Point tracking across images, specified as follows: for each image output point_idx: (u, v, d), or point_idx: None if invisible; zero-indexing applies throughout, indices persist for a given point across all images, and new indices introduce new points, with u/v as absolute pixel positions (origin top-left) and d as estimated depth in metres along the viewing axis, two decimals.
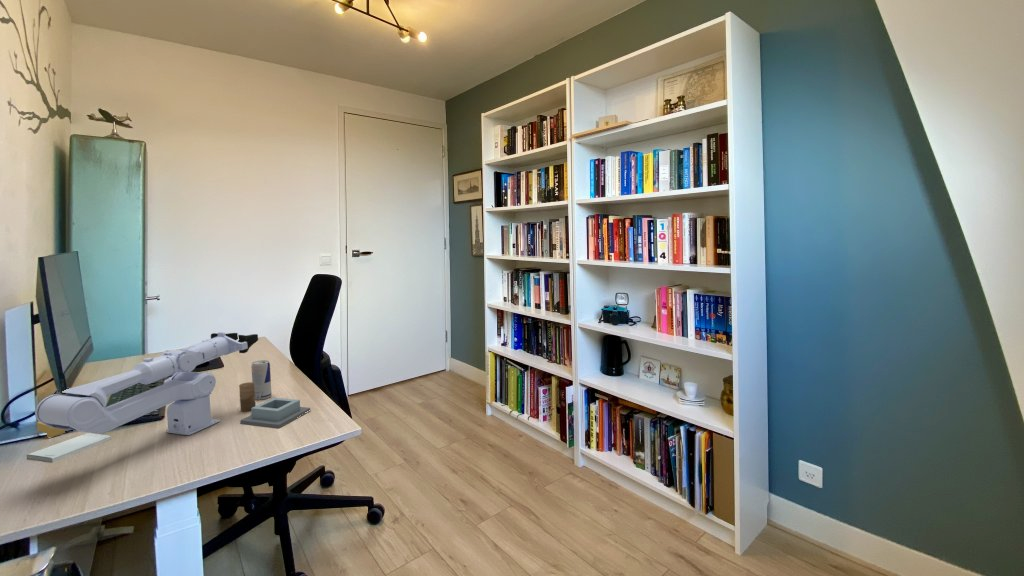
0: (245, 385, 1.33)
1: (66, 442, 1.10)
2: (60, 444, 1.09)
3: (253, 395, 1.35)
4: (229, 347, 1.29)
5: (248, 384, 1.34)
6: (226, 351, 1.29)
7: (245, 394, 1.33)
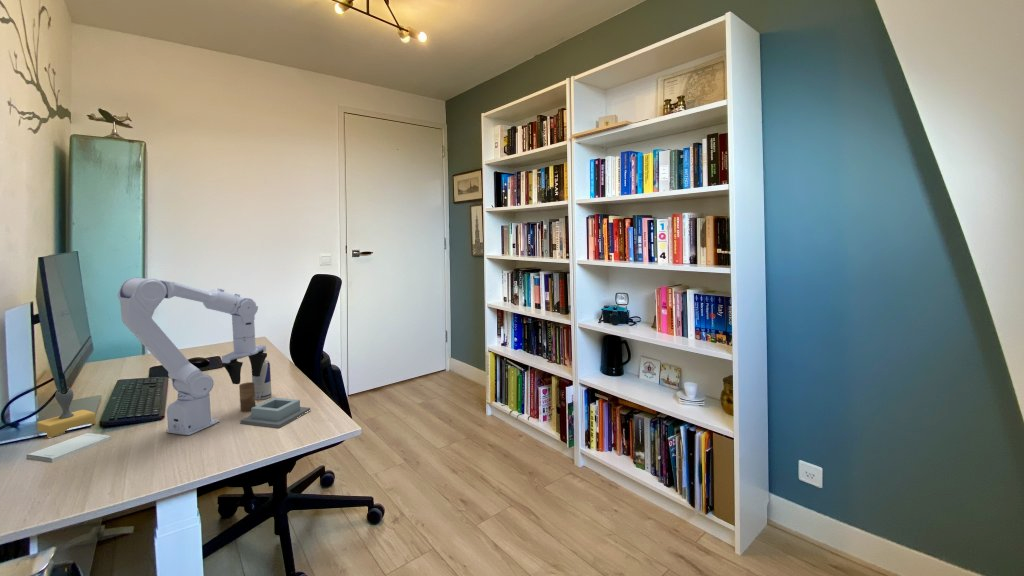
0: (245, 385, 1.33)
1: (65, 442, 1.10)
2: (60, 444, 1.09)
3: (253, 395, 1.35)
4: (236, 352, 1.31)
5: (248, 384, 1.34)
6: (234, 348, 1.31)
7: (245, 394, 1.33)
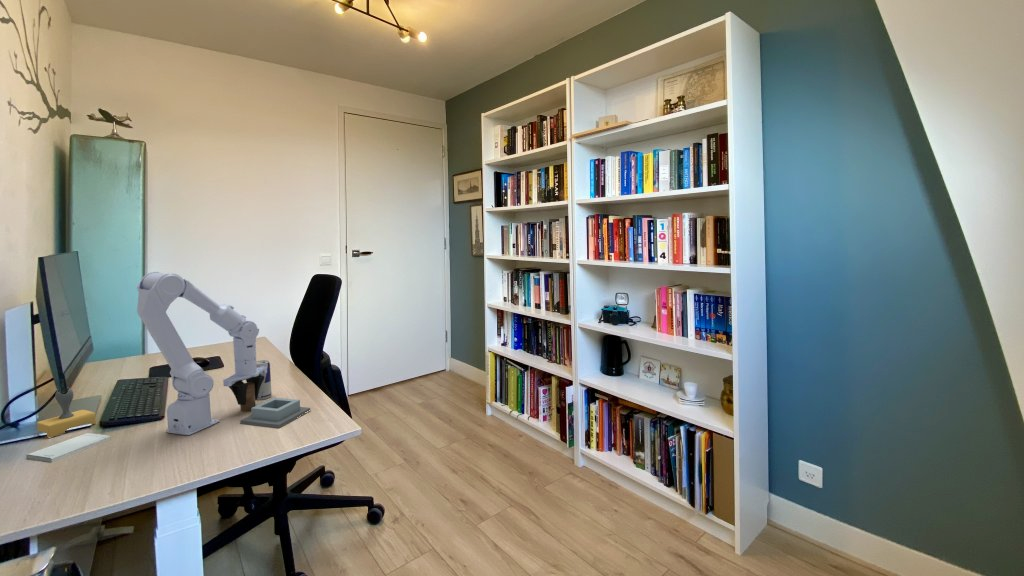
0: None
1: (65, 442, 1.10)
2: (60, 444, 1.09)
3: (253, 395, 1.35)
4: (237, 374, 1.31)
5: (248, 384, 1.34)
6: (235, 371, 1.32)
7: None
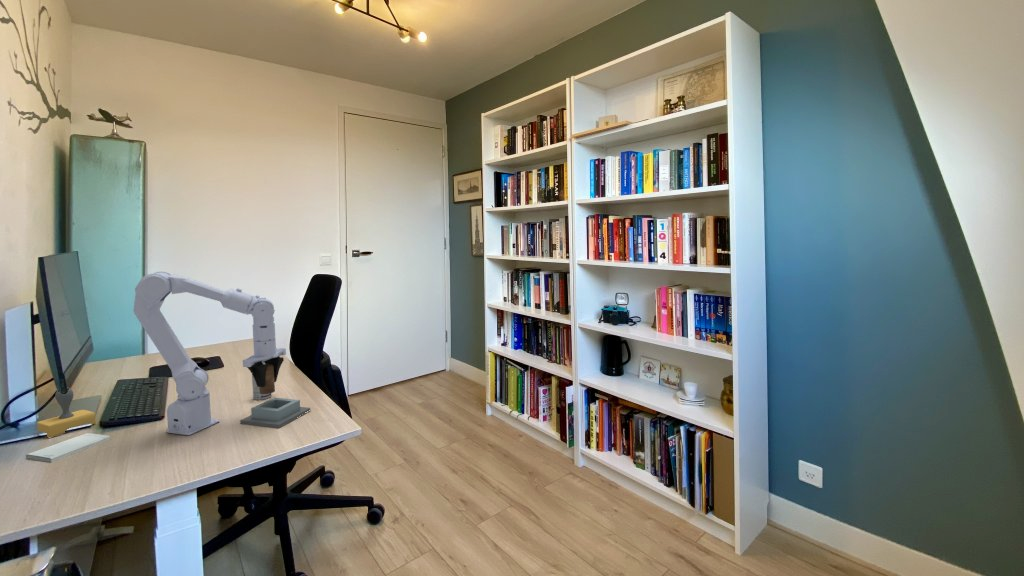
0: None
1: (65, 442, 1.10)
2: (59, 444, 1.09)
3: (272, 377, 1.30)
4: (256, 355, 1.26)
5: None
6: (254, 352, 1.27)
7: None
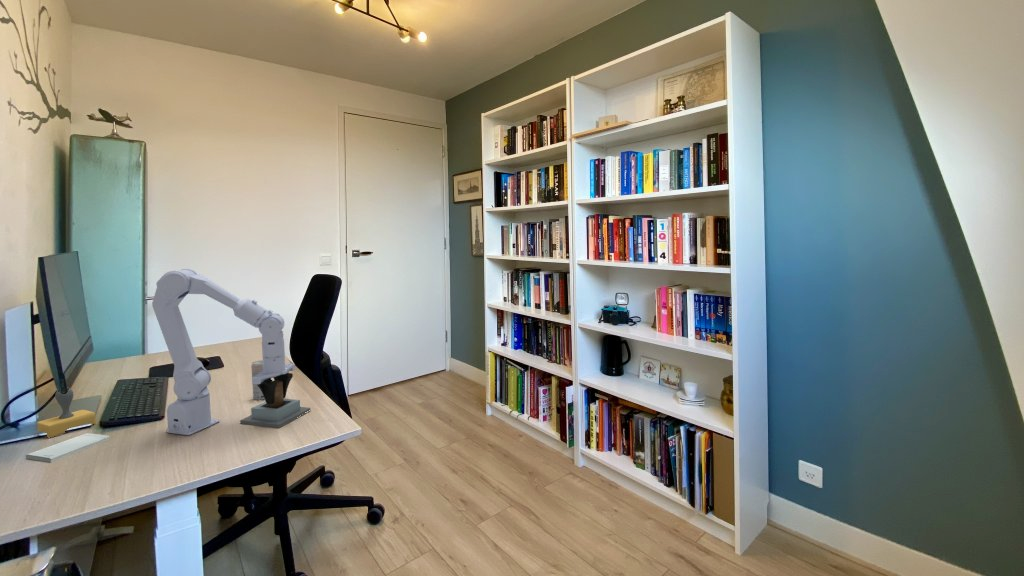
0: None
1: (65, 442, 1.10)
2: (59, 444, 1.09)
3: (281, 394, 1.28)
4: (265, 372, 1.25)
5: None
6: (263, 368, 1.26)
7: None
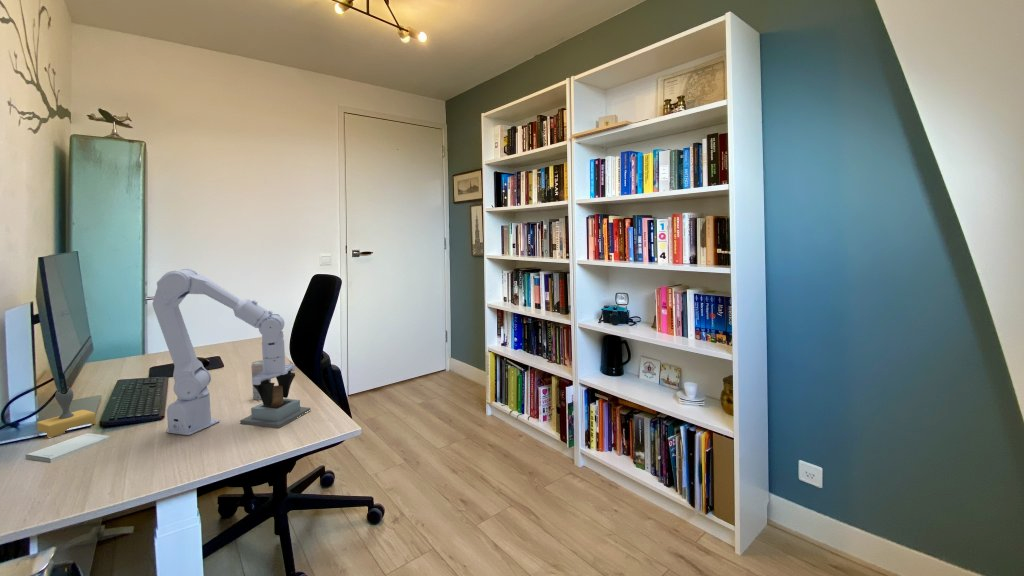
0: (273, 388, 1.27)
1: (65, 442, 1.10)
2: (59, 444, 1.09)
3: (281, 399, 1.29)
4: (265, 372, 1.25)
5: (276, 388, 1.28)
6: (263, 369, 1.26)
7: (274, 398, 1.27)
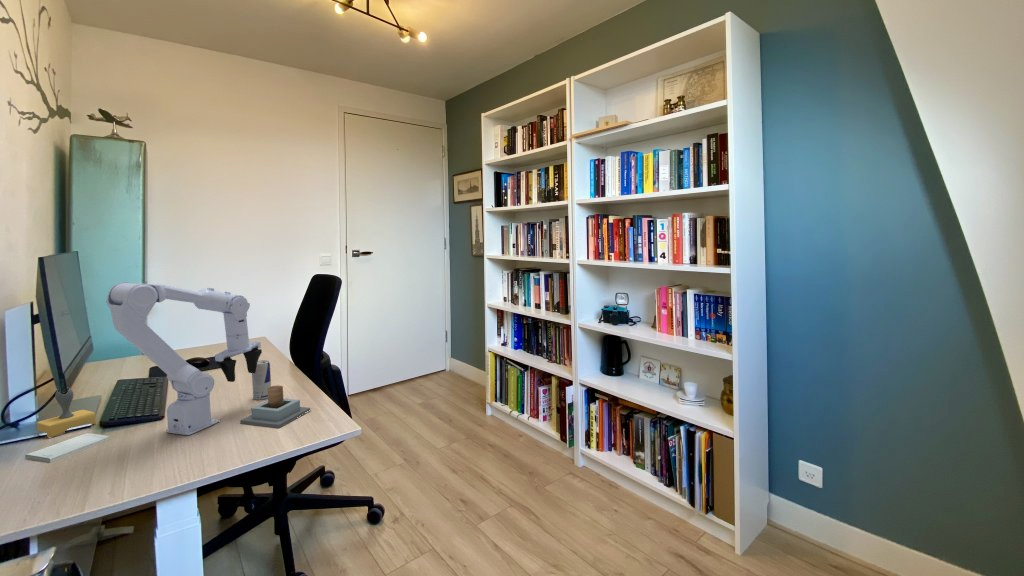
0: (273, 388, 1.27)
1: (64, 442, 1.10)
2: (59, 444, 1.09)
3: (282, 399, 1.29)
4: (229, 349, 1.30)
5: (276, 388, 1.28)
6: (227, 346, 1.30)
7: (274, 397, 1.27)
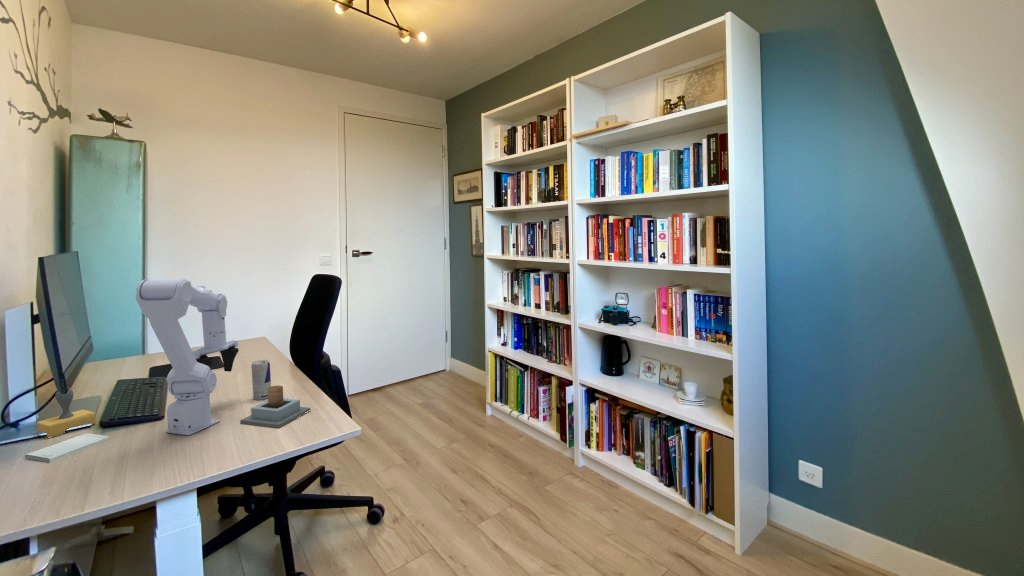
0: (273, 388, 1.27)
1: (64, 442, 1.10)
2: (58, 444, 1.09)
3: (282, 399, 1.29)
4: (206, 347, 1.32)
5: (276, 388, 1.28)
6: (204, 344, 1.32)
7: (274, 397, 1.27)
